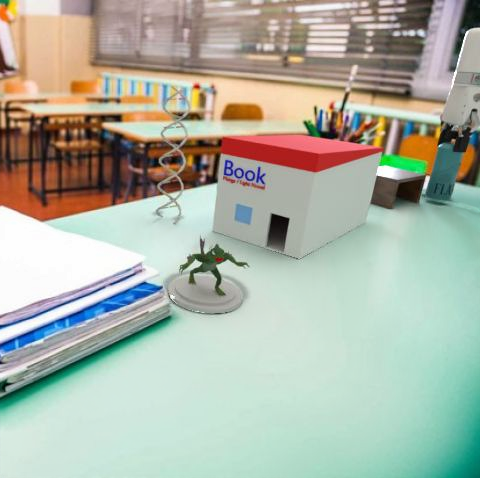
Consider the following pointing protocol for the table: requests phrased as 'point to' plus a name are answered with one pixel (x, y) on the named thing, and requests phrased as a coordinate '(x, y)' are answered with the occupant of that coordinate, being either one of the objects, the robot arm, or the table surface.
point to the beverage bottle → (444, 170)
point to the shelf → (396, 186)
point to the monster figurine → (207, 284)
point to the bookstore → (293, 190)
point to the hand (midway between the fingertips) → (451, 148)
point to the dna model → (176, 148)
